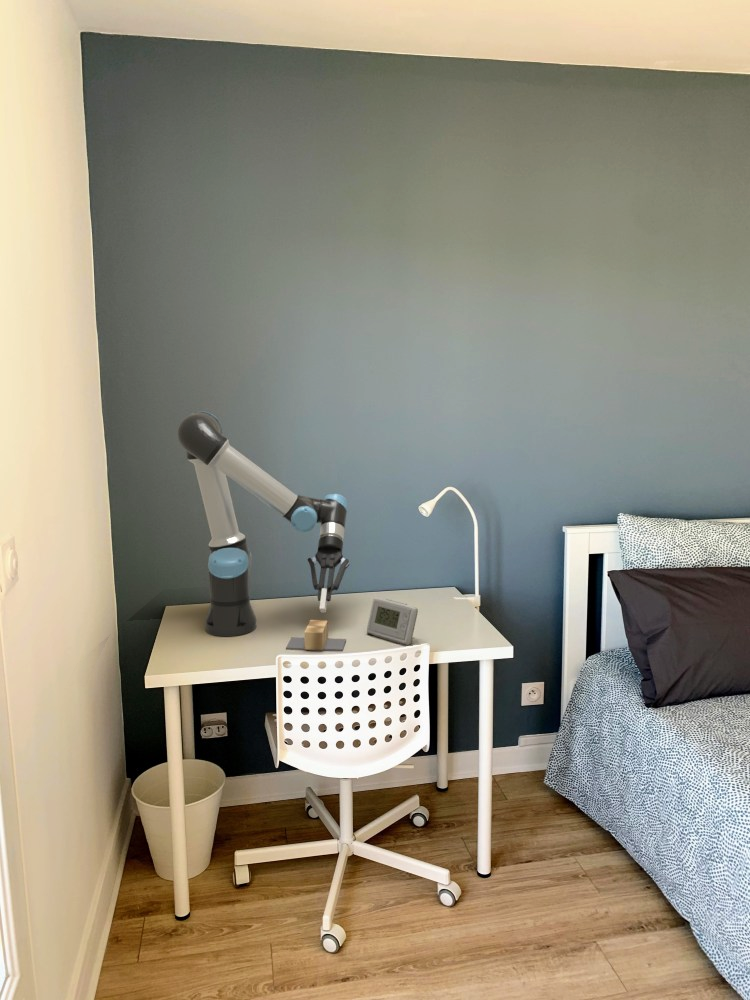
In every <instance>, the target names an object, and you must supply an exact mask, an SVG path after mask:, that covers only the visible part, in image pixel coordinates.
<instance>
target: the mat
mask: <svg viewBox="0 0 750 1000" xmlns="http://www.w3.org/2000/svg"><path fill="white" fill-rule="evenodd" d="M346 642H347V638H329V637H328V638H327V640H326V643H325V645H324V648H323V650H319V651H320V652H322V651H326V652H327V651H329V652H343V651H344V648H345V645H346ZM289 649H290V650H289ZM285 650H289V651H291V650H292V651H293V650H294V651H298V650H299V651H313V650H312V649H305V637H290V640H289V641H288V643H287V645H286V647H285Z"/></svg>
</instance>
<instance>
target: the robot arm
mask: <svg viewBox="0 0 750 1000" xmlns="http://www.w3.org/2000/svg"><path fill="white" fill-rule="evenodd" d="M222 427H223V426H222V424H221V422H220V420H219V419H218V418H217V417H216V416H215V415H214V414H212V413H210V412H208V411H202V410H201V411H195V412H192V413H189V415H187V416H186V417H185V418H183V420H182V421H181V422H180V423H179V425H178V427H177V431H176V432H177V435H176V437H177V441H178V443H179V445H180V446H181V447H182V449H184V451H185V455H186V459H187V461H188V462H190V463H192V464H193V466H194V469H195V474H196V477H197V482H198V486H199V489H200V495H201V498H202V502H203V505H204V512H205V515H206V520H207V524H208V527H209V531H210V535H211V540H210V541H209V542H208V547H209V553H210V555H209V557H208V563H207V568H208V578H209V579H208V580H209V581H208V582H209V598H210V599H209V601H210V606H209V608H208V612H207V615H206V619H205V632H207V633H208V634H210V635H212V636H216V637H217V636H218V637H236V636H242V635H245V634H248V633H251V632H252V631H255V630H256V628H257V618H256V614H255V613H254V612H255V611H254V609H253V606H252V604H251V597H250V572H251V568H252V563H253V555H252V553H251V549H249V547H248V544H247V538H246V535H245V534H244V533H242V532H240V530H239V525H238V522H237V521H238V520H237V518H236V514H235V509H234V505H233V504H234V503H233V500H232V496H231V492H230V487H229V483H228V479H227V477H229V478H230V479H231V480H232V481H234V482H236V483H237V484H238V485H239V486H241V487H242V488H244V489H245V490H246V491H248V492H249V493H250V494H252V495H253V496H254V497H256V498H257V499H259V500H260V501H261V502H262V503H264V504H265V505H266V506H268V507H269V508H270V509H272V510H273V511H275V513H278V514H279V515H280V516H281V517H282V518H284V519H285V520H286V521H288V522H289V523H291V525H292V526H293V528H294V529H295V530H296V531H299V532H301V533H307V532H310V531H312V530H313V529H314V528H315V527H316V525H317V524H320V530H319V540H318V543H317V552H316V553H315V556H313V557H308V558H307V562H308V565H309V566H310V572H311V573H310V574H311V582H312V587H313V589H314V590H316V591H318V592H317V600H318V601H319V612H320V613H326V612H327V607H328V606H327V605H328V602H330V601H331V600H332V593H333V591H338V590H339V588H340V585H341V582H342V580H343V577H344V575H345V572H346V569H348V567H350V565H351V564H350V561H349V559H348V558H344V556H343V548H344V547H343V546H344V538H345V527H346V522H347V521H346V519H347V513H348V508H347V507H348V501H347V498H345V496H343V495H341V494H338V493H330V494H327V495H326V496H325V497H324V499H322V498H315V497H310V496H305V495H300V494H296V493H294V492H293V491H291V490H290V489H289V488H287V487H286V485H283V484H282V483H280V481H278V480H277V479H275V478H274V477H273V476H271V475H270V474H269V473H268V472H266V471H265V470H263V469H262V468H261V467H260V466H258V465H257V464H255V463H254V462H253V461H252V460H251V459H249V458H247V457H246V456H245V455H244V454H242V453H241V452H239V451H238V450H237V449H236V448H234V447H233V446H231V445H230V442H229V441H230V440H229V439H228V438H226V436H224V435H223V428H222ZM317 563H318V564H319V567H320V570H319V571H320V572H319V580H318V578H317V572H316V570H317V569H316V564H317ZM338 565H340V566H339V569H338V572H337V574H336V576H335V570H336V567H337V566H338ZM327 569H328V577H327V585H326V588H325V582H326V574H327ZM334 578H335V580H334ZM318 581H319V582H318Z"/></svg>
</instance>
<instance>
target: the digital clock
mask: <svg viewBox="0 0 750 1000" xmlns="http://www.w3.org/2000/svg"><path fill="white" fill-rule="evenodd" d="M418 611H419V610H418V608H417V607H415V606H413V605H409V604H408V603H403V602H400V601H395V600H392V599H389V598H388V599H387V598H382V597H379V596H378V597H377V596H376V597H374V598H373V601H372V604H371V608H370V613H369V618H368V621H367V626H366V633H367V634H369V635H371V636H374V637H376V638H380V639H382V640H386V641H389V642H393V643H396V644H402V645H406V646H409V645H411V644H412V641H413V636H414V631H415V626H416V623H417V619H418Z"/></svg>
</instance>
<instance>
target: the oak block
mask: <svg viewBox="0 0 750 1000" xmlns="http://www.w3.org/2000/svg"><path fill="white" fill-rule="evenodd" d="M328 621H329V620H327V619H326V620H325V619H310V620H309V622H308V625H307V626H306V628H305V629H304V638H305V649H312V650H311V651H320V650H323V648H324V645H325V643H326V640H327V638H329V635H328V634H329V629H328V628H329V627H328V626H329V624H328V623H329V622H328Z"/></svg>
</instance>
